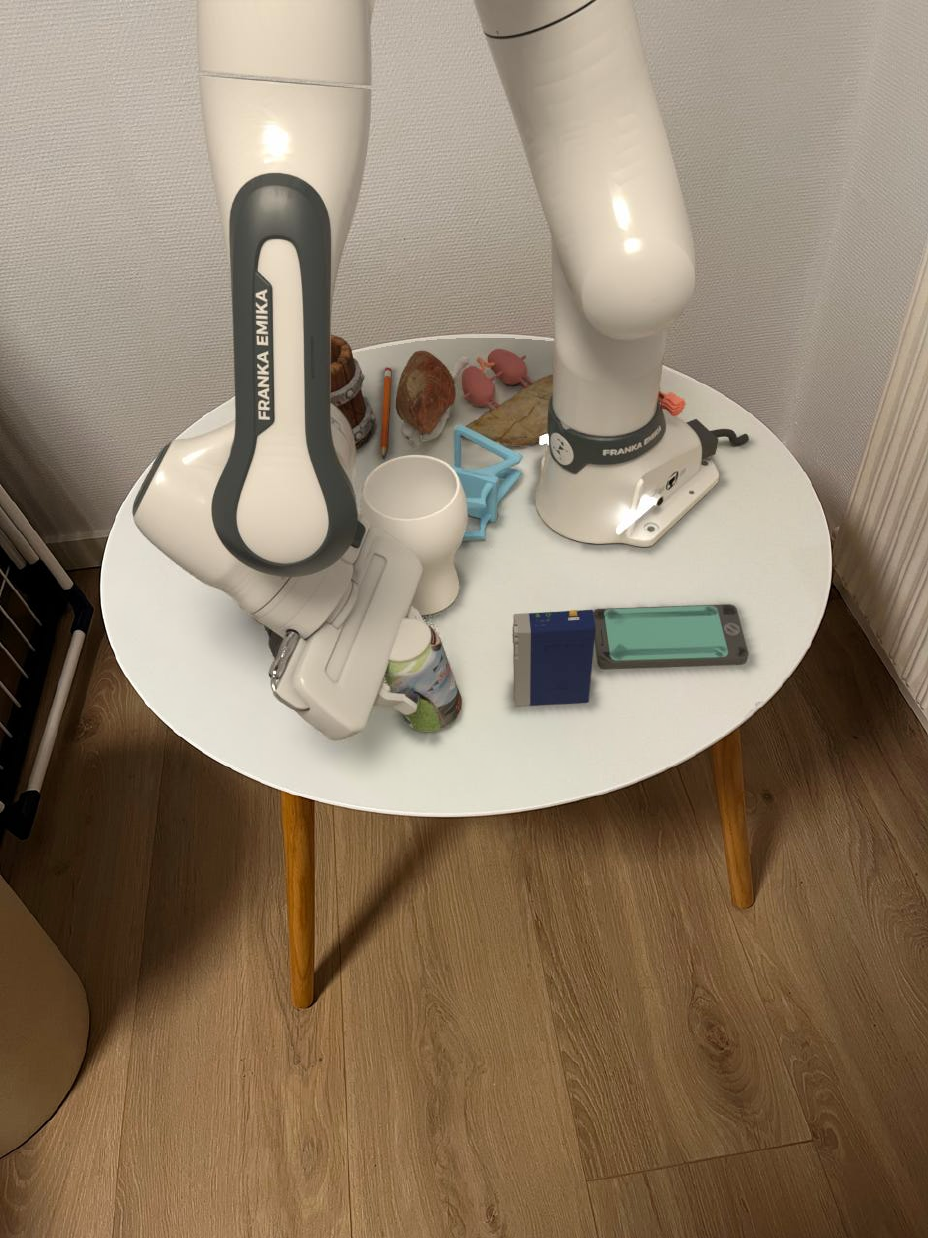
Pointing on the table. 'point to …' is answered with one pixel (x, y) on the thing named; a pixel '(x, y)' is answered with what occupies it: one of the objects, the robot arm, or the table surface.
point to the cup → (421, 520)
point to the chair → (484, 479)
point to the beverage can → (424, 676)
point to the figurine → (414, 434)
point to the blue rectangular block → (553, 657)
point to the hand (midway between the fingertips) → (424, 677)
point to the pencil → (385, 411)
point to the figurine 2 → (503, 366)
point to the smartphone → (669, 636)
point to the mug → (349, 389)
